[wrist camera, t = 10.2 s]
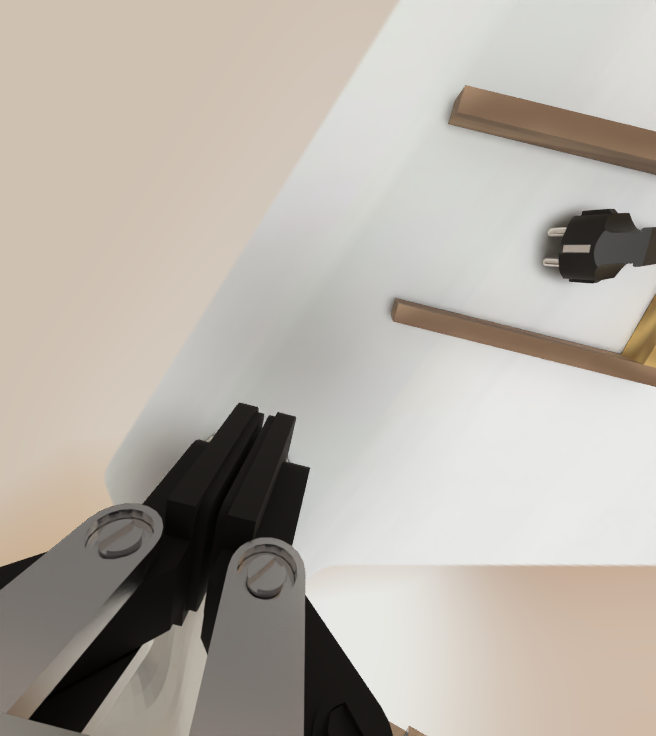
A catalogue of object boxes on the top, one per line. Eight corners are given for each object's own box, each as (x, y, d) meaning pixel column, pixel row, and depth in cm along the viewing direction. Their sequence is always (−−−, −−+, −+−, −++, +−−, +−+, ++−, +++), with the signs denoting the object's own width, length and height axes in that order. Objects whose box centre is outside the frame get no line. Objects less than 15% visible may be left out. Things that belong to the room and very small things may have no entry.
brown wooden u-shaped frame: (641, 377, 35) (665, 389, 32) (390, 314, 35) (393, 321, 33) (765, 175, 29) (808, 169, 26) (455, 99, 29) (465, 85, 26)
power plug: (686, 275, 31) (621, 290, 26) (591, 270, 37) (522, 281, 32) (708, 205, 29) (642, 204, 24) (603, 212, 35) (532, 213, 30)
